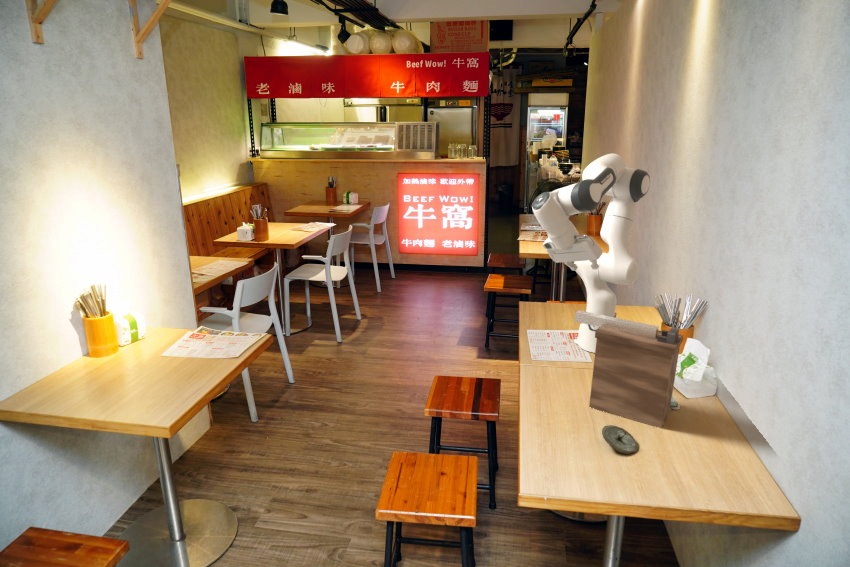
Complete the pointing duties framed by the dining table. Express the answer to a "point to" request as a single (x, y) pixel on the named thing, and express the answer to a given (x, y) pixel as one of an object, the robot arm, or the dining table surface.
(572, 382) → the dining table surface
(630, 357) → the walnut stand
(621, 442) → the lid
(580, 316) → the aluminium bar
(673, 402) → the pacifier
